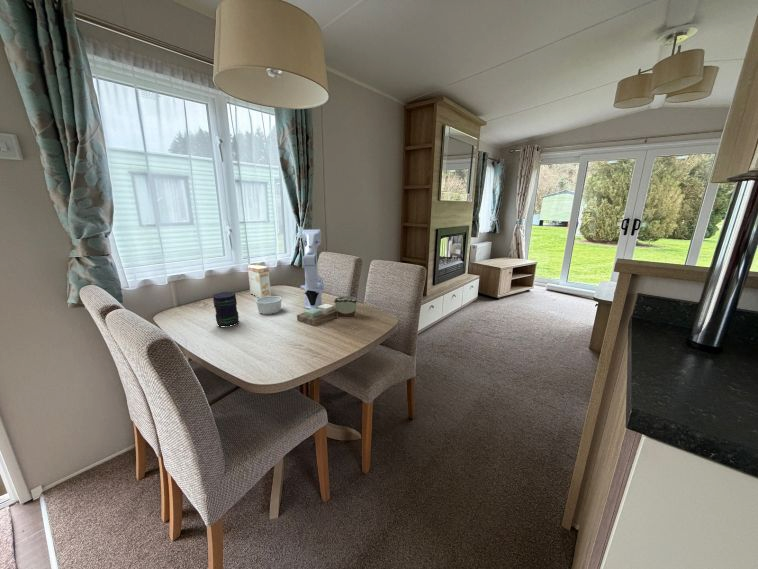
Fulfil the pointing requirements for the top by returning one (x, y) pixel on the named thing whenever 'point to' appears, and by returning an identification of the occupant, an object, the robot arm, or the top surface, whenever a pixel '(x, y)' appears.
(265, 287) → the coffeecake box
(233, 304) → the storage jar
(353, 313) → the food container
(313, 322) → the key console
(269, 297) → the ramekin
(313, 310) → the sage key
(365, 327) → the top surface
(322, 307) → the cream key
